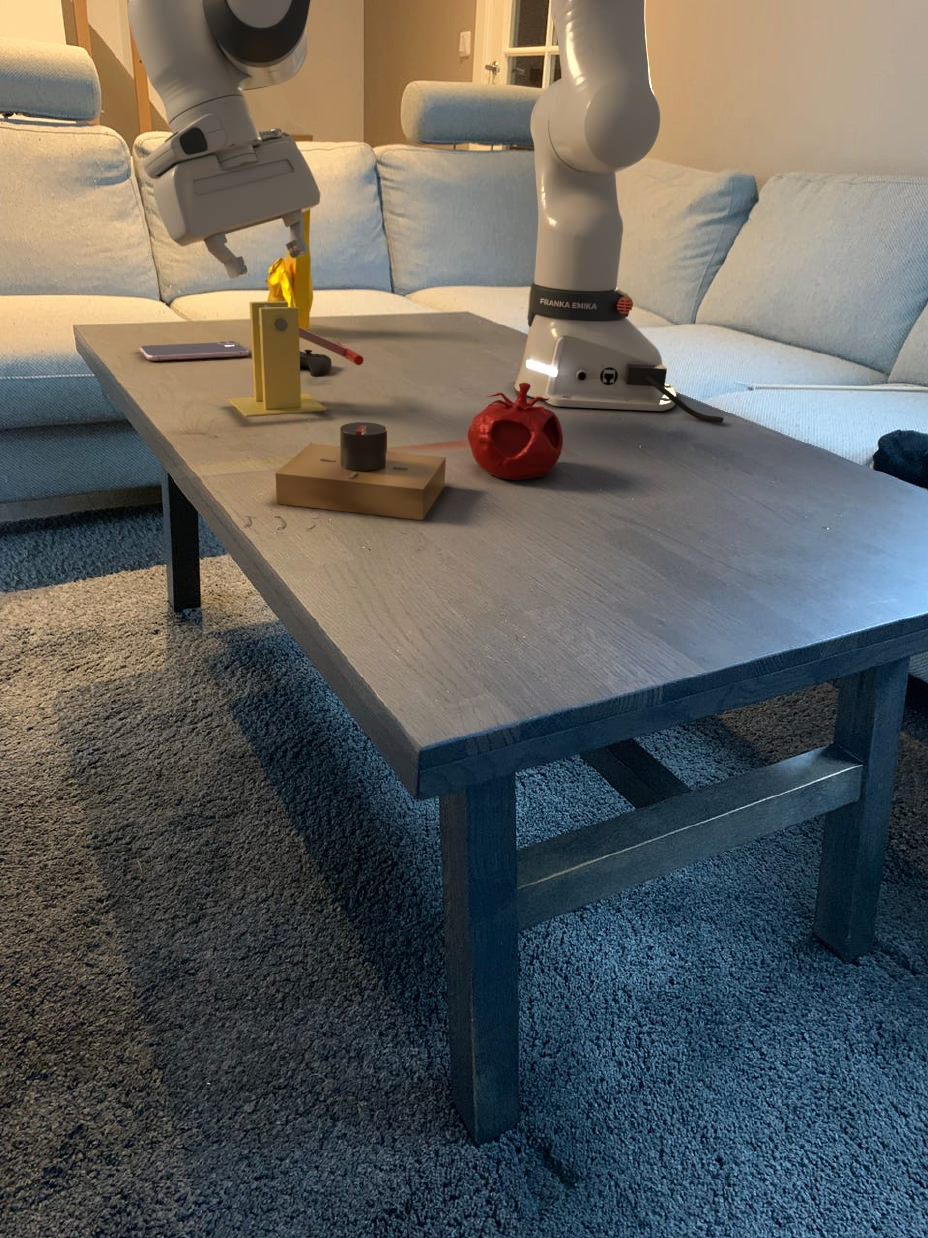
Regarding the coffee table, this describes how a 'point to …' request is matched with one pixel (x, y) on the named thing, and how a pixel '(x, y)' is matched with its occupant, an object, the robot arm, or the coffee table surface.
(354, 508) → the knob base block
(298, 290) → the figure statuette
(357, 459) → the dial knob
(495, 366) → the coffee table surface
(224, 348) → the mobile phone
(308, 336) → the lever
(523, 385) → the red hollowed tomato
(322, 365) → the gaming controller
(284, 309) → the yellow upright double-plate block
